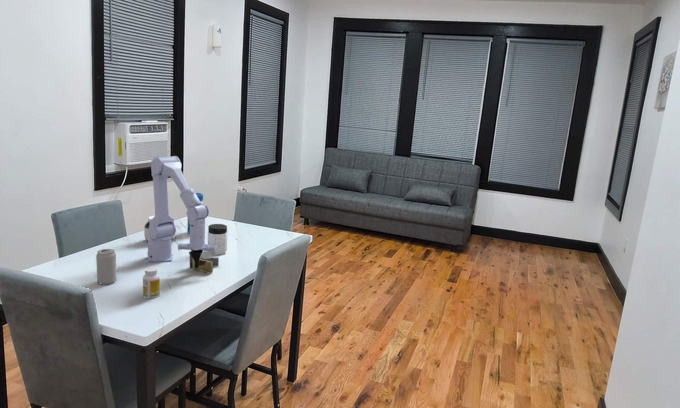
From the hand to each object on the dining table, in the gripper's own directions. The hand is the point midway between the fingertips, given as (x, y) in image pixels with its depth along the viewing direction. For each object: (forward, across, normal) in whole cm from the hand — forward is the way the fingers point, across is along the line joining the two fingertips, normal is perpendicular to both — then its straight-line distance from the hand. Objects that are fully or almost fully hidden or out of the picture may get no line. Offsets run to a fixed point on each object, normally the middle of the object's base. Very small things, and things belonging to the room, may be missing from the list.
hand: (197, 267), depth 192 cm
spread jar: (+3, -26, +38) cm, 46 cm away
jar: (+2, +3, +26) cm, 27 cm away
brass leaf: (+2, +2, +2) cm, 3 cm away
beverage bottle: (+2, -13, +53) cm, 55 cm away
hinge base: (+2, +1, +7) cm, 7 cm away
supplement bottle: (+2, -10, -24) cm, 26 cm away
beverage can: (+2, -29, -14) cm, 32 cm away
